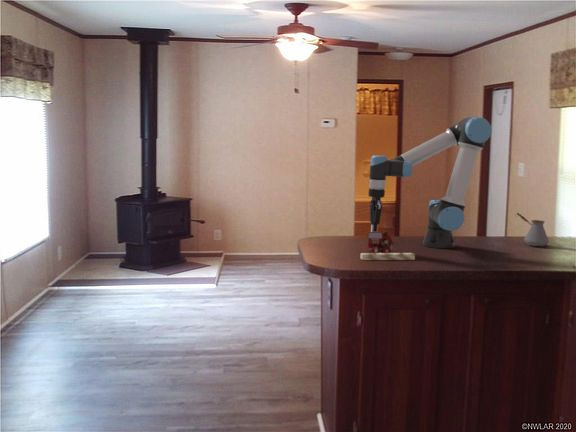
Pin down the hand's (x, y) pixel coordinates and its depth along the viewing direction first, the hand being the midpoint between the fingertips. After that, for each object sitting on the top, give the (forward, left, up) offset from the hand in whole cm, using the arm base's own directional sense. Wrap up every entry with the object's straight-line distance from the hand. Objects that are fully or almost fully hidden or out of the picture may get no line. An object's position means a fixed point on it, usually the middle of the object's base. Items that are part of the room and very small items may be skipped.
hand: (373, 237), depth 283 cm
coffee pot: (-88, -13, -6) cm, 89 cm away
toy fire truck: (0, +9, -6) cm, 11 cm away
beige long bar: (0, +21, -6) cm, 22 cm away
